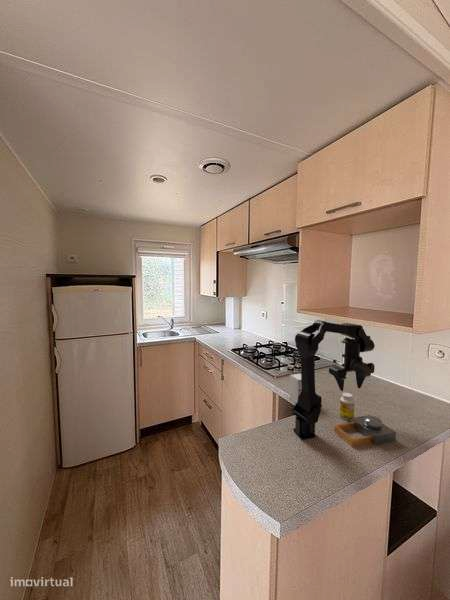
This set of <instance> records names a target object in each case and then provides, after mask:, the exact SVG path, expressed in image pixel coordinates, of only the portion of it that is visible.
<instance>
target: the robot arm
mask: <svg viewBox="0 0 450 600" xmlns="http://www.w3.org/2000/svg"><path fill="white" fill-rule="evenodd" d="M316 332H317V333H316ZM327 332H329V333H335V334H340V335H341V336H344V337H345V338H344V339H342V340H341V344H344V352H343V353H342V355H341V357H342V358H343V359H344V360H343V363H341V366H339V365H335V366H334V365H332V366H330V367H329V368H328V374H330V375H331V376H332V377H334V379H335V381H336V382H337V383H336V384H337V386H338V388H339V390H340V391H341V392H344V389H345V386H344V385H345V380H346V379H347V376H348V375H347V373H353V372H354V373H355V381H356V386H357V389H361V388H362V386H363V384H364V381H365V379H366V378H367V377H371V375H372V374H374V373H375V369H376V368H375V364H374V363H373V362H364V361H363V357H362V356H361V355H360V353H367V352H371V351H374V349H375V346H376V345H375V342H374V341H373V339H371V336H370V335H367V333H366V331H365V329H364V328H363V325H361V324H356V323H349V322H343V323H334V322H327V321H325V320H320V319H317V320H314V321H313V322H312V323H311V324H309V325H307V326H304V328H302V329H301V330H300V331H298V332H297V333H296V334H295V337H294V342H295V348H296V349H297V351H298V354H299V355H300V374H301V383H302V391H301V393H300V394H299V396H298V402H297V403H296V404H294V406H293V407H292V409H291V412H292V415H293V416H295V426H294V427H295V428H292V430H293V432H294V433H295V434H296V436H297V437H298V438H299V439H300V440H307V439H309V440H310V439H315V438H317V434H316V424H317V423H318V422H319V418H320V415H321V412H322V408H323V405H322V401H323V399H322V396H321V395H319V394H317V393H316V392H317V391H316V378H315V377H316V374H315V373H316V371H315V356H316V353H317V352H318V350H319V344H320V343H321V342H323V340H324V338H325V334H326V333H327Z"/></svg>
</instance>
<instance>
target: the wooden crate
mask: <svg viewBox="0 0 450 600" xmlns="http://www.w3.org/2000/svg"><path fill="white" fill-rule="evenodd" d="M351 430H355V431H356V432H357V433H359V434H360V435H362V436H359V437H351V436H350V435H349V434H347V433H346V431H351ZM333 432H334V433H336V434H337V435H338V436H339V437H340V438H341V439H342V440H343V441H345V443H347V444H348V445H349V446H351V447H359V446H363V445H369V444H370V445H371V444H373V445H374V446H379V445H383V444H389V443H394V442H396V438H397V432H396V431H395V430H393V429H392V428H390V427H389V426H387V425H385V424H384V423H383V421H382V420H381V419H380V418H379V417H378V416H373V415H370V414H368V415H360V416H354V418H351V420H350V422H344V423H340V424H339V423H337V424H334V425H333Z"/></svg>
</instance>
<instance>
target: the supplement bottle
mask: <svg viewBox="0 0 450 600" xmlns="http://www.w3.org/2000/svg"><path fill="white" fill-rule="evenodd" d="M353 397H354V396H353V394H352V393H349V392H342V396H341V397H340V400H339V416H340V418H341V419H343V420H344V421H351V418H354V417H355V405H356V404H355V399H354V398H353Z"/></svg>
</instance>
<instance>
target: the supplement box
mask: <svg viewBox="0 0 450 600" xmlns="http://www.w3.org/2000/svg"><path fill="white" fill-rule="evenodd" d="M301 391H302V383H301V373H296V374H295V373H294V374H290V375H289V400H291V402H292V403H293V404H294V405H296V403H297V402H298V396H299V394H300V393H301Z"/></svg>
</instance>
